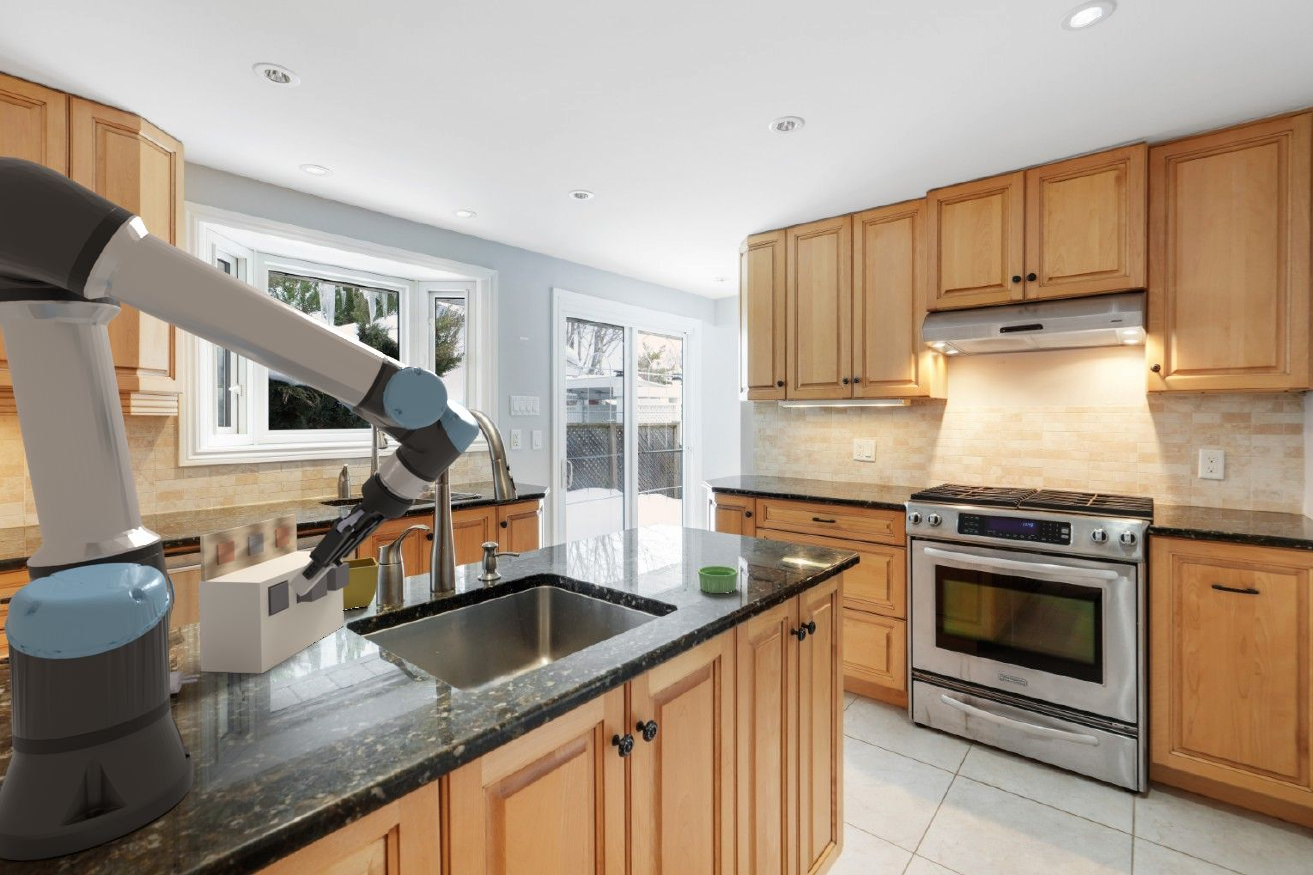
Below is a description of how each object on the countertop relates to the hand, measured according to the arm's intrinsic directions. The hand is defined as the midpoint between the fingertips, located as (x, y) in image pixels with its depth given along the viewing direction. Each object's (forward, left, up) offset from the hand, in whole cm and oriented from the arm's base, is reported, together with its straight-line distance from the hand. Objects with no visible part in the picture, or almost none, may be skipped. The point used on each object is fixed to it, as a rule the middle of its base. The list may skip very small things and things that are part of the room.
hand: (297, 588), depth 97 cm
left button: (0, +5, -3) cm, 6 cm away
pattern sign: (+7, +12, +2) cm, 14 cm away
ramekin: (+48, -67, -12) cm, 83 cm away
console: (+7, +8, -12) cm, 16 cm away
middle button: (+7, +2, -3) cm, 8 cm away
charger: (-15, +14, -12) cm, 24 cm away
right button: (+13, +2, -4) cm, 14 cm away
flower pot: (+29, +8, -12) cm, 32 cm away
